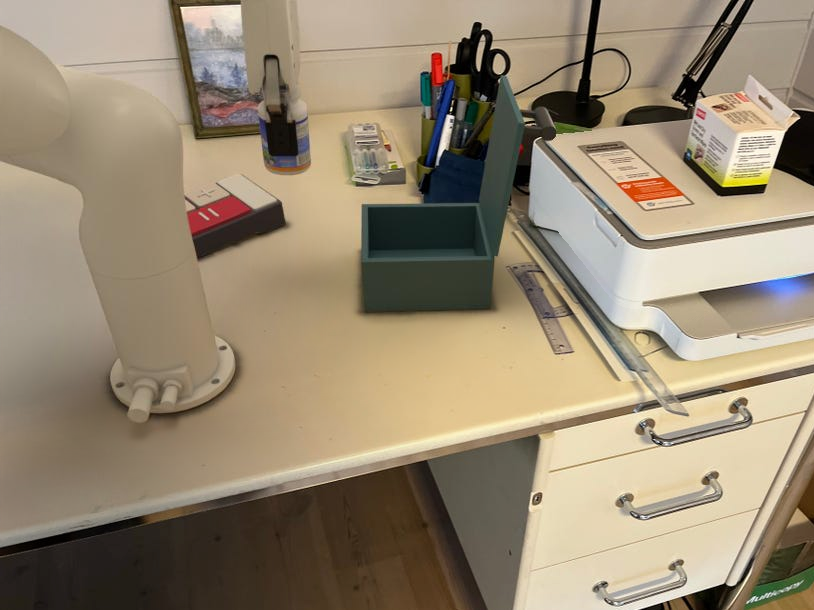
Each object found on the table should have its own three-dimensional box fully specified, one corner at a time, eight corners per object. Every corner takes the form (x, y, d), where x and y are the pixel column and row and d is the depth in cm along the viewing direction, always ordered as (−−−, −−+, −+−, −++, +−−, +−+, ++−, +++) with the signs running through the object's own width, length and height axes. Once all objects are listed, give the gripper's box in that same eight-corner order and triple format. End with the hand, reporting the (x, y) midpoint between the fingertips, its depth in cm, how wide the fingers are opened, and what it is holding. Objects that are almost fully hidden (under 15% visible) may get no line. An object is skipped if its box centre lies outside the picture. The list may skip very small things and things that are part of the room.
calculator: (140, 205, 101) (239, 168, 108) (149, 232, 104) (245, 194, 111) (181, 238, 95) (282, 197, 103) (189, 266, 98) (287, 224, 106)
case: (364, 312, 91) (361, 261, 87) (364, 252, 102) (361, 203, 97) (490, 309, 93) (494, 259, 89) (478, 250, 104) (481, 202, 99)
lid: (518, 122, 78) (569, 128, 79) (500, 75, 88) (545, 80, 89) (492, 256, 88) (537, 259, 89) (478, 199, 98) (519, 203, 100)
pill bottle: (260, 159, 89) (249, 76, 83) (305, 154, 91) (298, 72, 85) (269, 179, 85) (259, 94, 79) (317, 173, 87) (310, 89, 81)
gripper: (238, -51, 81) (259, 114, 92) (215, -9, 68) (243, 177, 79) (309, -48, 82) (321, 115, 93) (301, -6, 69) (316, 177, 80)
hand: (285, 142), depth 86 cm, fingers closed on pill bottle, 5 cm apart
